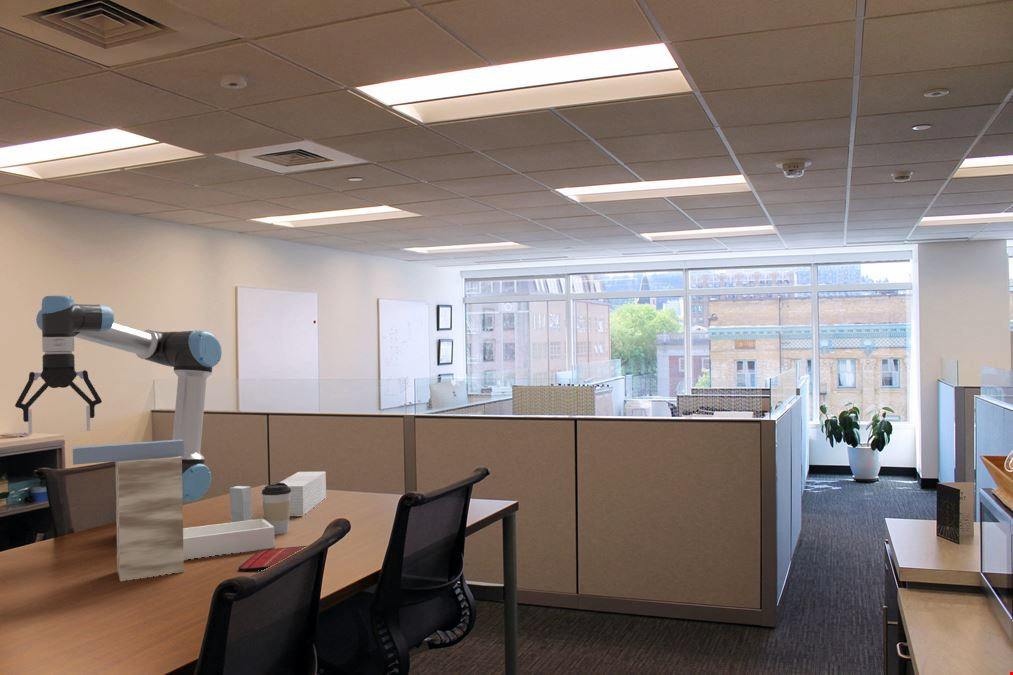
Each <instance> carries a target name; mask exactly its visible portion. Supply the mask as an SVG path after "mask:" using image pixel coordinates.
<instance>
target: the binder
mask: <svg viewBox="0 0 1013 675" xmlns="http://www.w3.org/2000/svg"><path fill="white" fill-rule="evenodd" d="M308 545H309V544H308ZM308 545H300V546H289V547H278V548H269V549H262V550H259V551H258V552H257V553H255V554H253V555H252V556H250V557H249V558H248V559H246V560H245V562H243V563H242V564H241V565H240V566H238V571H239V572H262V571H261V570H264V569H266V568H268V567H270V566H272V565H274V564H276V563H278V562H279V561H281V560H283V559H285V558H287V557H288V556H290V555H292V554H294V553H295V552H297V551H299V550H301V549H302V548H304V547H306V546H308ZM258 570H259V571H258Z"/></svg>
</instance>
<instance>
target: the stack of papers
mask: <svg viewBox="0 0 1013 675" xmlns="http://www.w3.org/2000/svg"><path fill="white" fill-rule="evenodd" d="M326 474H327V472H326V471H325V470H324V471H297V472H296V473H294V474H292V475H290V476H289V477H286V478H285V479H283V480H281V481H279V483H284V484H286V485H287V486H288V487H289V488H291V492H290V499H291V502H290V516H297V515H304V514H305V513H307V512H308V511H309V510H311V509H312V508H313V507H315V506H316V505H317V504H318V503H319V502H321V501H322V500H323V499H324V498H326V499H327V484H326V483H327V477H326V476H327V475H326ZM321 503H322V502H321ZM316 507H317V506H316ZM316 507H315V508H316ZM312 510H313V509H312ZM312 510H311V511H312ZM307 514H308V513H307Z"/></svg>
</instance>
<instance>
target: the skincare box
mask: <svg viewBox="0 0 1013 675" xmlns="http://www.w3.org/2000/svg"><path fill="white" fill-rule="evenodd" d="M252 499H253V498H252V486H245V485H237V486H232V487H229V505H230V507H229V508H230V523H231V522H239V521H247V520H254V518H253V502H252Z"/></svg>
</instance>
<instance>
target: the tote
mask: <svg viewBox="0 0 1013 675" xmlns="http://www.w3.org/2000/svg"><path fill="white" fill-rule="evenodd" d="M275 540H276V539H275V534H274V526H272V525H271V524H270V523H268V522H267V521H266V520H265V519H264V518H257V519H253V520H247V521H239V522H231V521H230V522H224V523H218V524H217V523H216V524H207V525H199V526H190V527H183V557H184V561H188V559H191V560H195V559H194V558H198V559H202V558H201V557H205V558H210V557H209V556H212V557H216V556H215V555H219V556H223V555H222V554H226V555H232V554H231V553H233V554H240V552H241V553H248V552H253V551H262V550H266V549H276V548H275V547H276V546H275V545H276V544H275V543H276V542H275Z"/></svg>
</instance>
